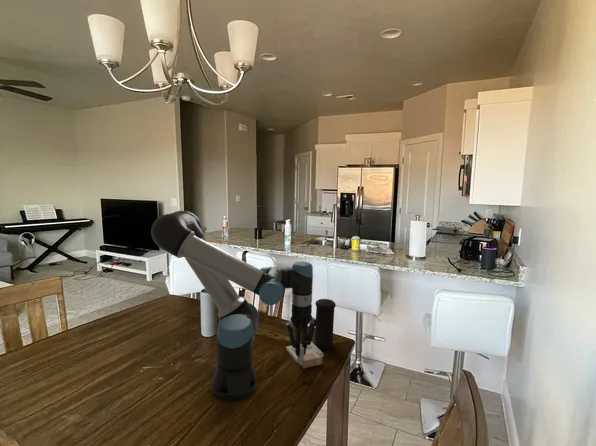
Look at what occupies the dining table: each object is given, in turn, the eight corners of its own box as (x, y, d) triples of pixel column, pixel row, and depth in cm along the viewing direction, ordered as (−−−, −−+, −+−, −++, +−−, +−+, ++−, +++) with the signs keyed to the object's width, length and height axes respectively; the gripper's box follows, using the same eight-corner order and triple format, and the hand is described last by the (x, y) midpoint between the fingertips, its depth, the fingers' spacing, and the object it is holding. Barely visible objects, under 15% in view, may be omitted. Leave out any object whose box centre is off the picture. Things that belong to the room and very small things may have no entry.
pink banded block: (303, 368, 121) (304, 360, 121) (299, 362, 125) (299, 355, 124) (322, 363, 125) (322, 356, 124) (317, 358, 128) (317, 351, 128)
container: (333, 340, 143) (335, 297, 141) (333, 351, 135) (336, 305, 132) (314, 339, 144) (315, 296, 142) (312, 349, 135) (315, 304, 133)
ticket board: (297, 363, 125) (297, 359, 125) (286, 349, 135) (286, 346, 135) (323, 356, 130) (324, 353, 130) (311, 344, 140) (311, 341, 140)
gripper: (289, 309, 113) (288, 372, 116) (322, 304, 118) (320, 364, 122) (281, 302, 120) (280, 361, 123) (312, 297, 125) (311, 354, 128)
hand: (300, 362), depth 122 cm, fingers closed
